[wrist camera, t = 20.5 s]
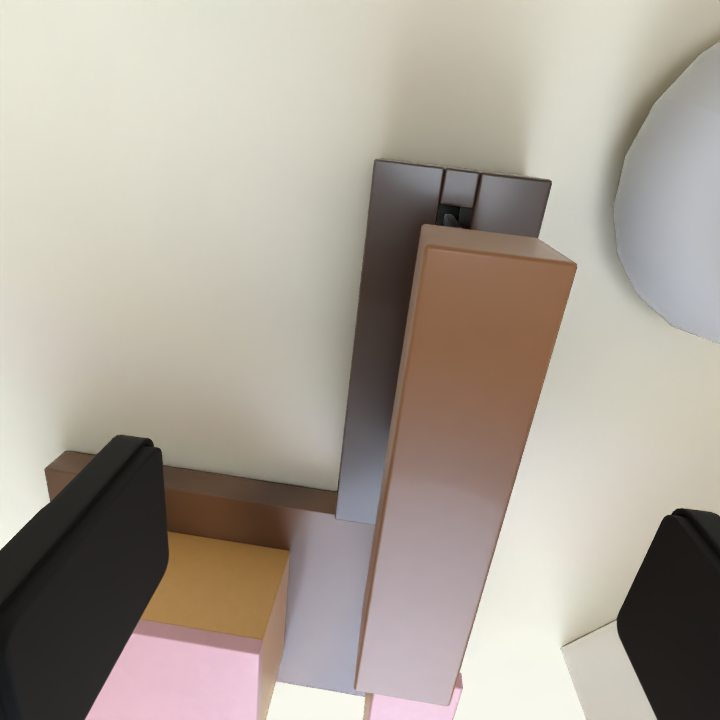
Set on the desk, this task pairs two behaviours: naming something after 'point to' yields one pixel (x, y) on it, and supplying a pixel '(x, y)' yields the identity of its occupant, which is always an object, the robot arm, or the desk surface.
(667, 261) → the donut
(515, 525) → the desk surface
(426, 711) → the cake slice
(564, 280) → the bar
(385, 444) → the cutter stand
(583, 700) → the milk
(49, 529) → the robot arm
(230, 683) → the loaf cake
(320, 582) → the cutting board
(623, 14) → the desk surface
